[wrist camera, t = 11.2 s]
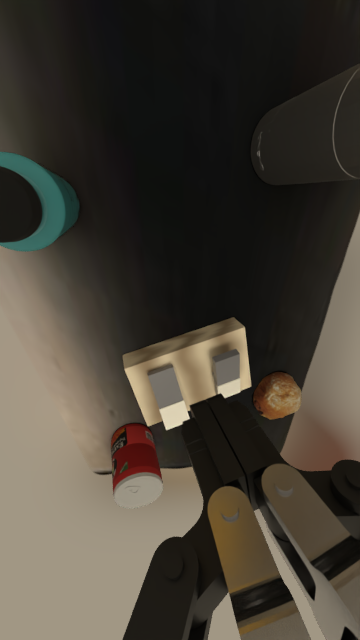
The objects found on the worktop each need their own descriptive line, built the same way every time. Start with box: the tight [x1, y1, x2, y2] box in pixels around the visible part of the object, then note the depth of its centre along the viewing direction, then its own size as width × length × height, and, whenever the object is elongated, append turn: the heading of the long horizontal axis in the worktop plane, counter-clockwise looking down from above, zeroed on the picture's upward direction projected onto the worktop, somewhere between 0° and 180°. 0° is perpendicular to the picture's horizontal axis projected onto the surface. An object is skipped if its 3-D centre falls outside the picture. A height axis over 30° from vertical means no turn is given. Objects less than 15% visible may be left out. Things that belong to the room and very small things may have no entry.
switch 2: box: [212, 349, 240, 398], centre depth 43 cm, size 4×10×2 cm, turn 13°
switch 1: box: [147, 364, 190, 430], centre depth 41 cm, size 4×10×2 cm, turn 13°
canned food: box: [111, 423, 163, 508], centre depth 46 cm, size 8×8×11 cm
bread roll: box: [253, 372, 302, 419], centre depth 54 cm, size 10×10×8 cm
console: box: [123, 317, 251, 426], centre depth 45 cm, size 20×13×4 cm, turn 103°
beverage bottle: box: [0, 152, 80, 251], centre depth 22 cm, size 6×7×20 cm
